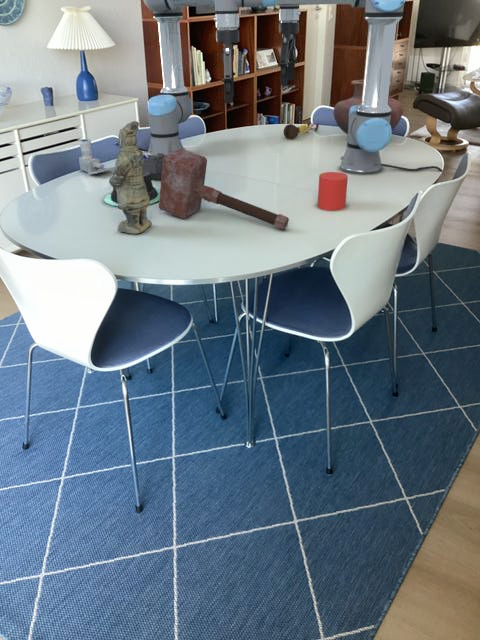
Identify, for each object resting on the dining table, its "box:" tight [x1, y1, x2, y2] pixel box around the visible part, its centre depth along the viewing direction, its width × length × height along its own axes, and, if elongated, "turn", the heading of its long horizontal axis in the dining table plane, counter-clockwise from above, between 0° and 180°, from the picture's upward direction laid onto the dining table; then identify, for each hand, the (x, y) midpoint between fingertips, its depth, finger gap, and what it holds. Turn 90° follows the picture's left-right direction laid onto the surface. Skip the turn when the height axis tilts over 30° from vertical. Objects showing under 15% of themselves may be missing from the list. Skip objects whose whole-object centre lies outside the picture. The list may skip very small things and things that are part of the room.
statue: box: [108, 120, 153, 235], centre depth 154 cm, size 11×9×30 cm
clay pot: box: [333, 79, 404, 135], centre depth 247 cm, size 30×30×25 cm
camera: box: [78, 138, 115, 176], centre depth 211 cm, size 9×12×15 cm
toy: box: [142, 151, 165, 181], centre depth 205 cm, size 9×9×15 cm
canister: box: [317, 171, 349, 211], centre depth 174 cm, size 9×9×10 cm
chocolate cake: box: [103, 169, 160, 207], centre depth 186 cm, size 15×19×20 cm
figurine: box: [282, 120, 319, 140], centre depth 263 cm, size 13×8×25 cm
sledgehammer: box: [158, 149, 290, 231], centre depth 163 cm, size 17×10×40 cm
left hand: (287, 82), depth 220 cm, fingers open, 13 cm apart
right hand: (229, 99), depth 188 cm, fingers open, 13 cm apart
